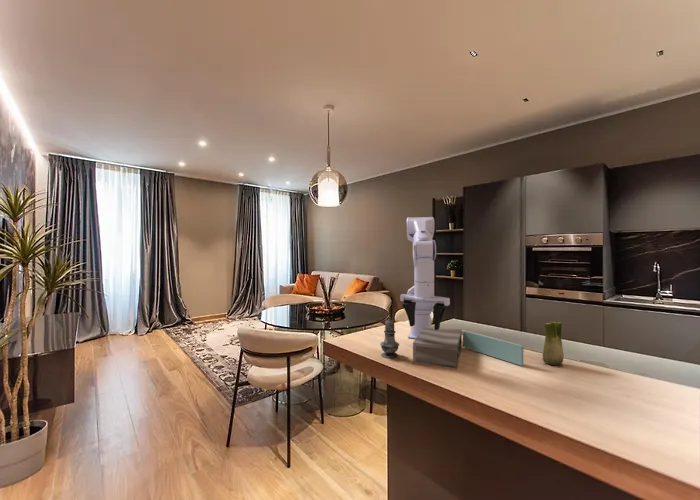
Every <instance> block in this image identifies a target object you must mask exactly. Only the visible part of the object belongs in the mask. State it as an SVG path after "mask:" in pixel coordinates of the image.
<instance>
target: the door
mask: <svg viewBox="0 0 700 500" xmlns="http://www.w3.org/2000/svg"><path fill="white" fill-rule="evenodd" d="M462 347H463V348H465V349H467V350H471V351H474V352H477V353H480V354H483V355H486V356H489V357H490V356H491V357H494V358H495V359H496V358H497V359H498V360H503V361H506V362H508V363H512V364H515V365H518V366H521V367H522V366H524V356H525V355H524V348H525V347H524V345H523V344H518V343H515V342H511V341H507V340H503V339H500V338H496V337H492V336H489V335H484V334H481V333H477V332H473V331H470V330H463V329H462Z"/></svg>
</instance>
